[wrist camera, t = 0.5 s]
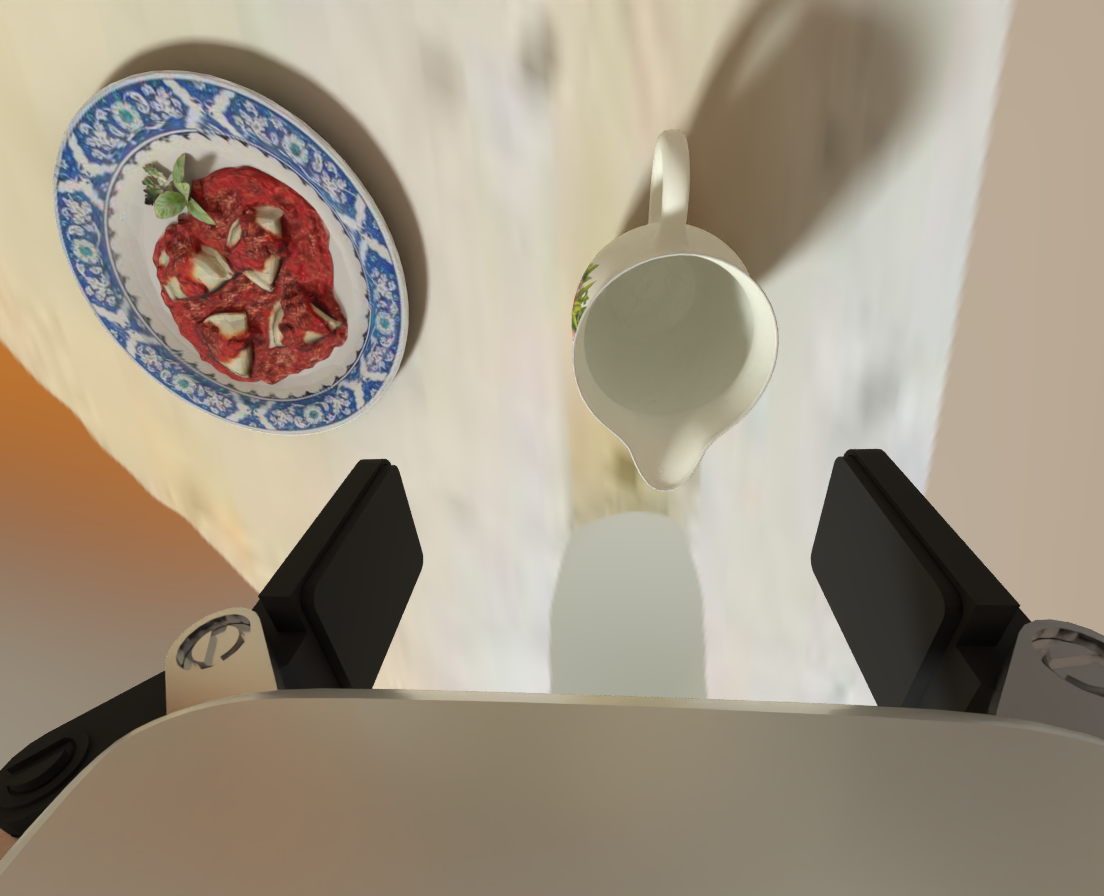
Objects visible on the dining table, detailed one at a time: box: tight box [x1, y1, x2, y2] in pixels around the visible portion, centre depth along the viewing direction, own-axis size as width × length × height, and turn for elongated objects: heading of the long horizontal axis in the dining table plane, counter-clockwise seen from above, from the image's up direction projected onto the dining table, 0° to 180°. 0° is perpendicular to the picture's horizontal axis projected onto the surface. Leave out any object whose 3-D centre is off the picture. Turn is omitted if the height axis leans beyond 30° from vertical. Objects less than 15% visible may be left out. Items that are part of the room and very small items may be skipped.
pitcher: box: [572, 130, 779, 491], centre depth 31 cm, size 11×18×14 cm, turn 4°
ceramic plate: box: [53, 70, 409, 435], centre depth 38 cm, size 26×26×3 cm
